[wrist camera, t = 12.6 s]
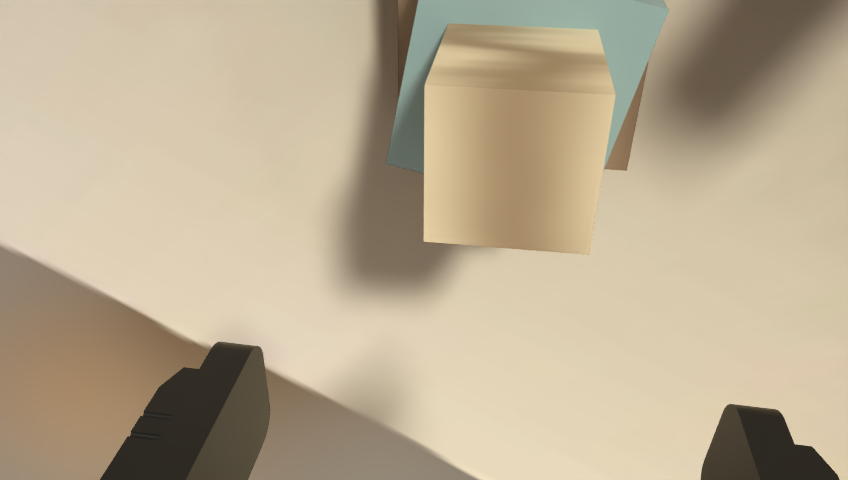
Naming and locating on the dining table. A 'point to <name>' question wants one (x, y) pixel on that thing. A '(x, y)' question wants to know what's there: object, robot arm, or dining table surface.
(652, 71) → the dining table surface
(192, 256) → the dining table surface
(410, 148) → the tower top
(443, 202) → the maple block
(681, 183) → the dining table surface
